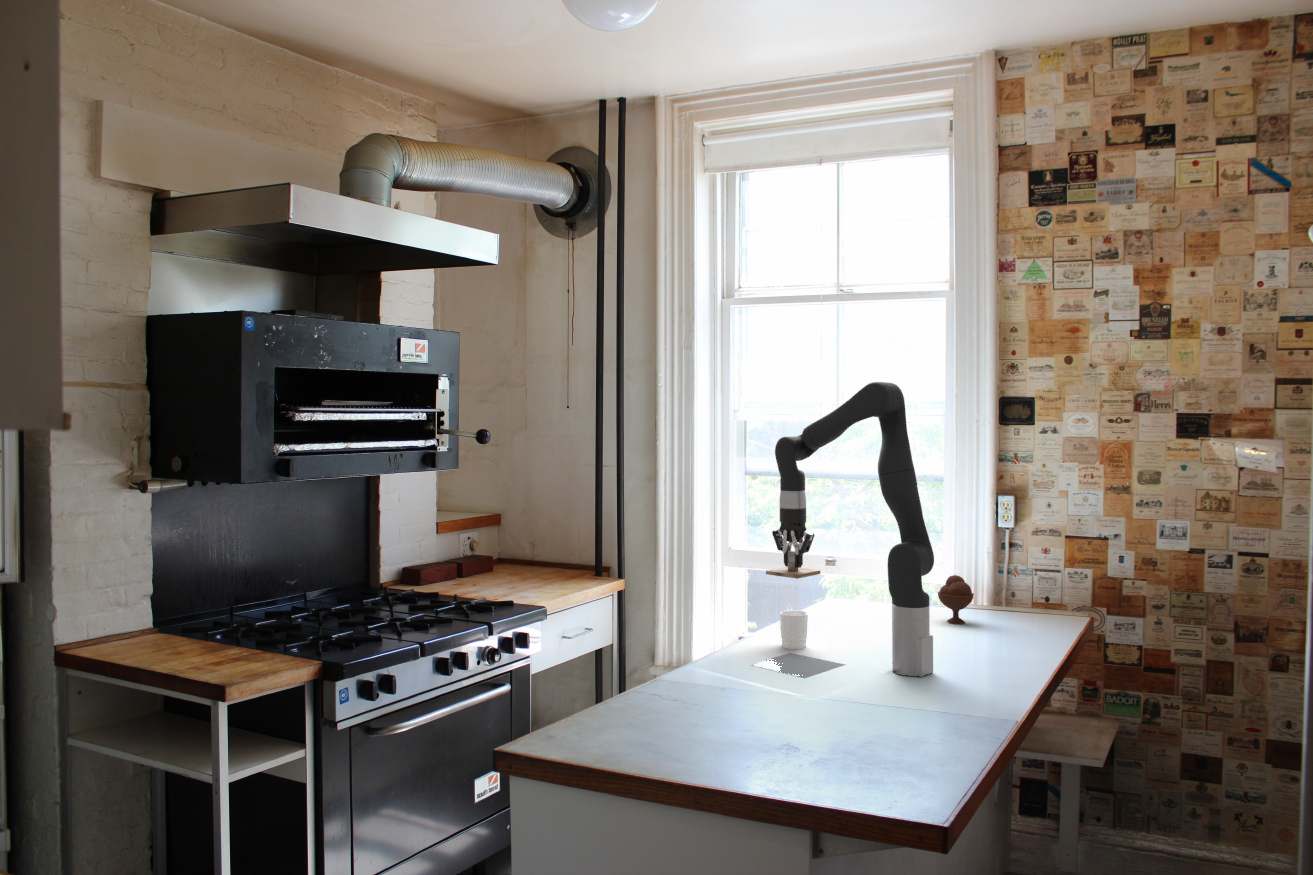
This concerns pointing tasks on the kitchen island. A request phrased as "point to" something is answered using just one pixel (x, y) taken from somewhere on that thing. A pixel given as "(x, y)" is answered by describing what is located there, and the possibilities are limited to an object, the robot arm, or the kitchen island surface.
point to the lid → (792, 569)
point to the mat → (803, 665)
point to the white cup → (793, 628)
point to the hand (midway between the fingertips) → (793, 566)
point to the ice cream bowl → (955, 597)
